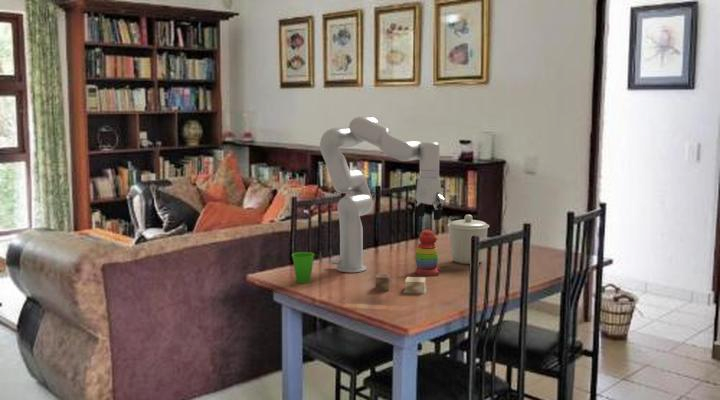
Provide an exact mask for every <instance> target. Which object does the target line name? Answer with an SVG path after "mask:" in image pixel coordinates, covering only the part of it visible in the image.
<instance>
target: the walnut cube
mask: <svg viewBox="0 0 720 400" xmlns="http://www.w3.org/2000/svg"><path fill="white" fill-rule="evenodd" d="M391 276H392V274H388V273H384V274H383V273H377V274H376V276H375V286H374V287H375V289H374V290H375V291H382V292H385V291H386V292H389V291H390V289H391V287H392V286H391V284H392V283H391V281H392V277H391Z"/></svg>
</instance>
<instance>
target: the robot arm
mask: <svg viewBox="0 0 720 400" xmlns="http://www.w3.org/2000/svg"><path fill="white" fill-rule="evenodd" d="M390 131H391V130H390V129H389V128H388V127H386V126H384V125H382V124H380V123H379V121H378V119H376V118H375V117H374V116H369V115H368V116H367V115H366V116H356V117H354V118H352V120H351V121H350V122H349V125H348V126H343V127H342V126H341V127H332V128H329V129H327V130H326V131H325V132H324V133H323V134H322V135H321V137H320V141H319V149H320V153H321V156H322V158H323V160H324V162H325V164H326V168H327V172H328V174H329V178H330V179H331V184H332V186H333V188H334V190H335V191H336V192H337V193H339V194H346V193H349V194H347V195H345V196H343V197H342V198H340V199H339V201H338V203H337V214H338V220H339V221H338V222H339V258H337V259H335V258H330V259H329V263H330V264H331V265H337V266H336V270H337V271H338V272H341V273H342V272H343V273H361V272H364V271H366V270H367V266H366V265H365V264H364V257H363V256H364V255H363V254H364V253H363V252H364V251H363V248H364V246H363V244H364V242H363V240H364V239H363V238H364V237H363V235H364V234H363V232H364V230H363V224H362V220H361V216H365V215H367V214H369V213H371V212H372V210H373V207H374V201H373V196H372V194H371V191H370V188H369V185H368V183H367V180H366V176H365V175H364V173H362V171H360V170H359V169H357V168H350V167H349V165H348V162H347V158H346V157H345V156H344V154H343V153H342V151H341V149H343V148H353V147H354V146H357V145H359V144H361V143H364V142H367V144H371V145H373V146H375V147H377V148H378V149H379V150H380V151H381V152H383V154H385V155H387V156H389V157H391V158H392V159H393V158H394V159H396V160H397V161H401V162H410V161H418V160H419V177H418V178H417V183H416V190H415V191H416V192H415V193H414V194H413V198H414V202H415V203H416V204H415V206H416V207H417V211H416V213H417V215H416V216H417V217H424V216H425V204H426V205H433V208H434V209H433V220H434V221H439V220H441V219H442V210H443V207H444V205H445V202H446V199H445V198H444V196H443V195H442V188H441V187H442V186H441V179H440V144H439V142H435V141H422V140H421V141H420V140H407V141H406V140H405V141H403V140H401V139H398V138H396V137H394V136H392V135H391V132H390Z"/></svg>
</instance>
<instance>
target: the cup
mask: <svg viewBox="0 0 720 400" xmlns="http://www.w3.org/2000/svg"><path fill="white" fill-rule="evenodd" d="M315 255H316V254H315V253H314V252H308V251H299V252H298V251H297V252H293V253H292V254H291V256H292V262H293V268H294V273H295V278H296V279H295V280H296V283H297V284H308V283H310V282H311V278H312V270H313V265H314V264H313V263H314V257H315Z"/></svg>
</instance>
